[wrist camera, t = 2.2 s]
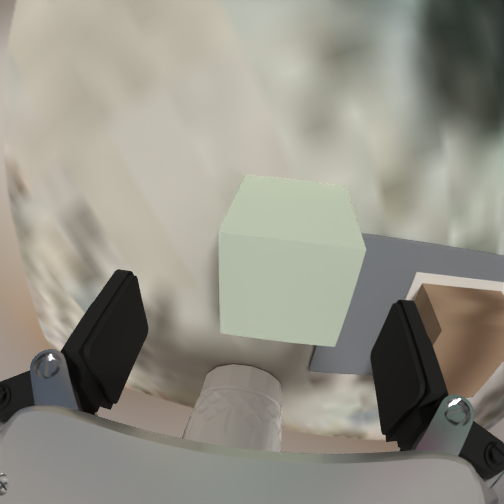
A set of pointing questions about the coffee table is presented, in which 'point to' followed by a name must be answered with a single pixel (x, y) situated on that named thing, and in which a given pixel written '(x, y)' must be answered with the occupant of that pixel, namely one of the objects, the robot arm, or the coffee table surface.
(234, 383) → the white cup
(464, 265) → the mat
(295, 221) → the sage cube
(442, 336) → the walnut base block
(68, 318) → the coffee table surface
